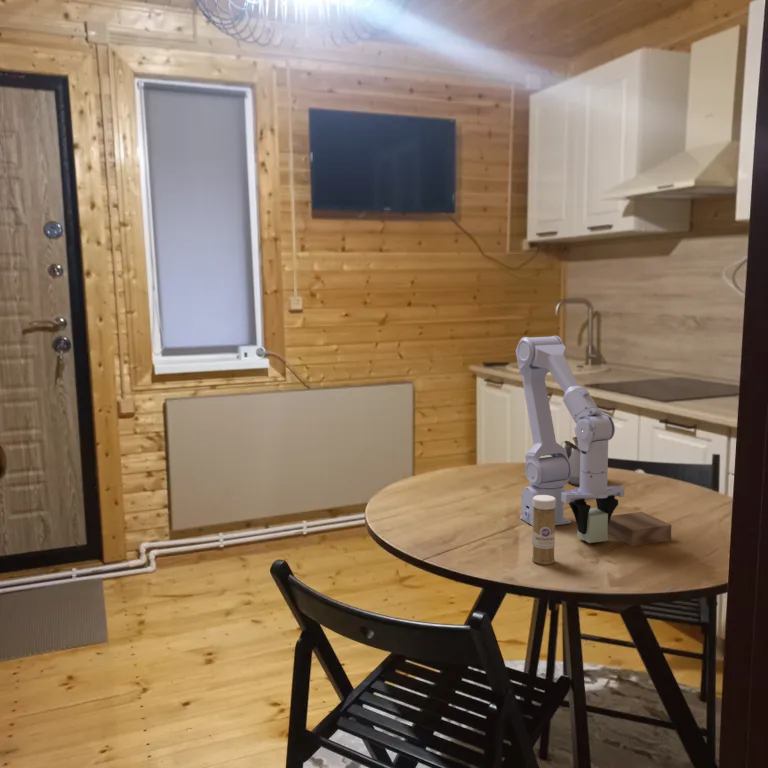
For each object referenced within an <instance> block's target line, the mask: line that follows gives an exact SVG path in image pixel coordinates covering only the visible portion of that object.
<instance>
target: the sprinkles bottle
mask: <svg viewBox="0 0 768 768" xmlns="http://www.w3.org/2000/svg"><path fill="white" fill-rule="evenodd" d="M555 507H556V499H555V497H553V496H549V495H536V496H534V497H533V526H532V559H531V560H532V561H533V562H534V563H535V564H538V565H544V566H546V565H552V564H554V563H555V561H556V559H555V544H556V541H555V539H556V538H555V537H556V525H555Z"/></svg>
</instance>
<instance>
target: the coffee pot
mask: <svg viewBox="0 0 768 768" xmlns="http://www.w3.org/2000/svg"><path fill="white" fill-rule="evenodd" d="M572 440H573V442H574V443H573V442H571V441H569V440H565V441H562V442H561V443H560V445H561V446H562V447H563V445H562V444H563V443H565V445H566V446H567V447H566V449H568V448H571V449H572V452H571V454H570V456H569V457H568V459H569V460H570V462H571V465H572V475H571V477H570V479H569V480H568V481H569V483H570V484H571V485H573V486H579V487H580V449H579V447H578V439H577V437H576V436H573V437H572ZM563 448H565V447H563Z"/></svg>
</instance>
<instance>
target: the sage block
mask: <svg viewBox="0 0 768 768" xmlns="http://www.w3.org/2000/svg"><path fill="white" fill-rule="evenodd" d="M607 530H608V514H607V513H605V512H603V511H601V510H599V509H597V507H590V510H589V513H588V519H587V532H586V534H582V533H580V532H579V531H578V530H577V536H576V537H578V538H580V539H582V540H583V541H585V543H586V542H587V543H588V544H592V543H600V542H607V541H608V533H607Z"/></svg>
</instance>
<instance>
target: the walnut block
mask: <svg viewBox="0 0 768 768" xmlns="http://www.w3.org/2000/svg"><path fill="white" fill-rule="evenodd" d="M607 535H610V536H612V537H614V538H616V539H618V540H619V541H622V542H623V543H626V544H627V545H629V546H630V547H635V546H642V545H649V544H656V543H664V542H668V541H669V542H670V541H672V524H670V523H668V522H667V521H666V522H665V521H664V520H661V519H659V518H657V517H654V516H652V515H650V514H648V513H646V512H643V511H637V512H636V511H635V512H629V513H622V514H615V515H614V514H612V515H611V518H610V520H609V523H608V530H607Z"/></svg>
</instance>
